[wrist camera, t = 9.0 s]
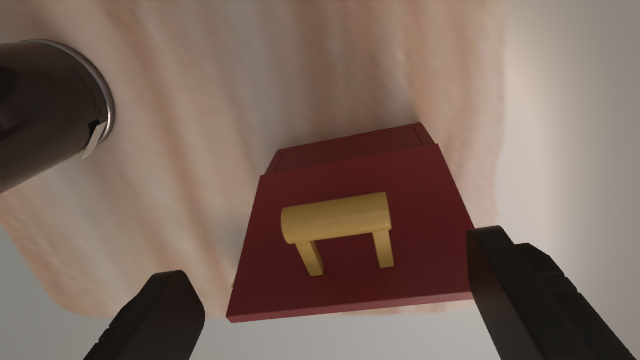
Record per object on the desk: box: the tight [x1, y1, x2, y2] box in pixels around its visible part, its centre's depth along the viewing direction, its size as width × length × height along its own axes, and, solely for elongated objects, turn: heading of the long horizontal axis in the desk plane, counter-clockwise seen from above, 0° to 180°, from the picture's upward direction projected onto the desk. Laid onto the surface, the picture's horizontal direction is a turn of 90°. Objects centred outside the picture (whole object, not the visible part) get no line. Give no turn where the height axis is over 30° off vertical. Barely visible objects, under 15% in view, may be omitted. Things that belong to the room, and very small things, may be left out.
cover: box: [226, 144, 475, 323], centre depth 18 cm, size 11×13×5 cm
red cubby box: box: [264, 122, 435, 175], centre depth 28 cm, size 10×13×5 cm
